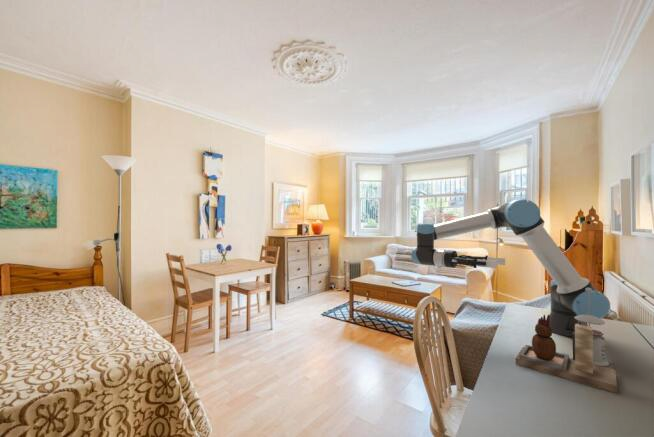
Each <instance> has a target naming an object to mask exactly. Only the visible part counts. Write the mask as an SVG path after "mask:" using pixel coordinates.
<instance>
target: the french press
mask: <svg viewBox="0 0 654 437" xmlns="http://www.w3.org/2000/svg"><path fill="white" fill-rule="evenodd" d="M585 291H588V295H589V291H591V292H592V289H591V288H586V289H585ZM574 318H575V319H576V320H578V324H579V321H581V324H582V322H584V323H586V324H588V326H590V327H591V325H598V326H602V325H605V324H606V322H605V321H604V320H603V318H601V319H600V318H598V317H595V316H591V315H590V300H589V315H578V316H575V317H574ZM584 323H583V325H586V324H584ZM592 330H593V364H595V365H599V366H603V367H606V366H609V365H610V362H608V360H607V359H606V338H605V337H604V336H603V335H604V333H603V332H602V331H600V330H597V329H592ZM571 356H572V357H573V353H572V354H571Z"/></svg>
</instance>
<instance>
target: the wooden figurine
mask: <svg viewBox="0 0 654 437" xmlns="http://www.w3.org/2000/svg"><path fill="white" fill-rule="evenodd" d="M549 315H550V314H547V317H546V314H543V316H541V317H540V318H538V319H537V320H538V321H537V324H535V327H534V332H535V334H534V335H532V339H531V346H532V347H533V350H534V353H535V355H536V356H537V357H538V358H540V359H543V360H552V359H553V358H554V356H555V353H556V352H557V345H556V342H555V340H554V338H553V337H552V335H553V332H552V328H551V327H550V322H549Z"/></svg>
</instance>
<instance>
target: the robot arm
mask: <svg viewBox="0 0 654 437" xmlns="http://www.w3.org/2000/svg"><path fill="white" fill-rule="evenodd" d="M416 225H417V226H416V247H415V248H412V251H411V256H410V258H411V260H412V262H413V263H414V264H419V265H421V266H423V265H424V266H431V267H432V266H436V267H437V266H438V268H440V269H441V267H443V268H445V267H446V268H453V269H455V268H457V266H458V265H459V266H460V265H462V266H467V267H473V269H477V268H478V267H479V268H480V267H481V268H490V269H497V265H500V266H505V265H506V258H505V257H504V258H503V257H492V256H491V257H490V256H489V255H485V256H478V255H476V256H472V255H465V254H458V252H457V251H456V250H452V249H451V250H450V249H447V250H446V249H439V248H438V249H437V248H434V247H435V245H434V244H435V241H436V240H440V239H441V240H442V239H446V238H449V237H454V236H458V235H464V234H467V233H471V232H475V231H479V230H480V231H481V230H485V229H490V228H491V229H500V228H510V229H511V231H512V232H513V234H514V235H515V236H516V237H521V238H522V239H523V241H524V242H525V243H526V245H527V246H528V248H529V249H530V250H531V251H532V253H533V254H534V255H535V257H536V258H537V259H538V261H539V262H540V264H541V265H542V266H543V268H544V269H545V270H546V272H547V273H548V275H549V276H550V277H551V279H552V280H550V286H549V288H550V313H549V314H548V315H549V322H550V327H551V328H552V333H554V334H557V335H560V336H563V337H564V336H565V337H569V338H573V336H572V334H573V331H574V332H575V324H578V320H576V319H575V318H574V317H575V316H578V315H589V300H590V315H591V316H595V317H598V318H600V319H603V318H605V317H606V316H607V315H608V314H609V312H610V310H611V302H610V299H609V298H608V297H607V296H606V295H605V294H604V293H603V292H602V291H598V290H597V289H596V288H595V286H594V285H593V284H592V282H591V281H590V279H588V278H586V277H582V276H581V275H580V274H579V272H578V271H577V270H576V268H575V267H574V266H573V265H572V263H571V262H570V260H569V259H568V258H567V256H566V255H565V253H563V252H562V250H561V249H560V247H559V246H558V245H557V243H556V242H555V240H554V239H553V238H552V237H551V235H550V234H549V233H548V231H547V230H546V229H545V227H544V226H545V221H544V219H543V218H542V216H541V209H540V207H539V206H538V205H537V204H536V203H535V202H534V201H532V200H529V199H525V198H524V199H523V198H518V199H514V200H511V201H508V202H505V203H503V204H501V205H498V206H496V207H493V208H492V207H491V208H489V209H488V208H487V210H486V211H485V212H482V213H481V212H480V213H478V214H474V215H469V216H464V217H461V218H457V219H453V220H449V221H444V222H441V223H436V224H434V223H432V222H431V223H428V222H427V223H426V222H425V223H424V222H423V223H421V222H420V223H417V224H416ZM586 288H591V289H592V292H591V291H589V295H588V291H585V289H586ZM583 323H584V322H582V324H581V321H579V325H583ZM584 324H586V323H584ZM585 326H589V323H587V324H586V325H585Z"/></svg>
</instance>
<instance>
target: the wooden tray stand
mask: <svg viewBox="0 0 654 437" xmlns="http://www.w3.org/2000/svg"><path fill="white" fill-rule="evenodd" d="M593 330H594V329H593V326H591V325H590V326H589V325H588V326H585V325H579V324H575V332H574V331H573V334H572V336H573V337H572V354H573V356H572V358H571V357H570V355H569V354H568V353H567V354H565V353H562V352H558V351H556V353H555V356H554V358H553V359H552V360H543V359H540V358H538V357H537V356H536V355H535V353H534V350H533V347H532V345H531V344H530V345H529V344H525V346H522V347H521V349H520V351H519V352H518V353H517V355H516V357H515V365H518V366H522V367H524V368H529V369H531V370H532V369H533V370H536V371H540V372H543V373H546V374H550V375H553V376H557V377H560V378H563V379H567V380H571V381H574V382H577V383H582V384H584V385H587V386H588V385H589V386H591V387H595V388H598V389H601V390H605V391H607V392H608V391H609V392H612V393H616V394H618V383H617V382H618V381H617V372H616V369H614V368H610V367H606V366H600V365H595V364H593Z"/></svg>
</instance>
